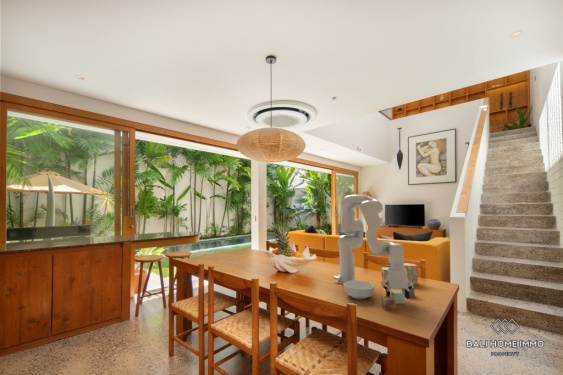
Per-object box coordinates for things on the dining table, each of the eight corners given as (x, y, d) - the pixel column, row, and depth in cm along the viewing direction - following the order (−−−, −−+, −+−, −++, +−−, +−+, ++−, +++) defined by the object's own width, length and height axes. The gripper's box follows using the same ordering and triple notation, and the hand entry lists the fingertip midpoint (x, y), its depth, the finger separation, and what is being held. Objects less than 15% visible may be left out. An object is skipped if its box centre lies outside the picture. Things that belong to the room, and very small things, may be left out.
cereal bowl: (370, 304, 140) (369, 291, 141) (339, 298, 149) (339, 286, 149) (377, 294, 155) (377, 282, 155) (349, 290, 164) (349, 278, 164)
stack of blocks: (384, 284, 175) (383, 265, 176) (381, 281, 181) (381, 262, 182) (418, 284, 173) (417, 265, 174) (414, 281, 179) (413, 263, 180)
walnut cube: (385, 310, 133) (384, 300, 133) (382, 306, 138) (381, 296, 138) (395, 310, 133) (395, 300, 133) (391, 306, 138) (391, 296, 138)
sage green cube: (394, 303, 142) (394, 293, 142) (391, 300, 147) (390, 290, 147) (404, 303, 142) (403, 293, 142) (400, 300, 147) (400, 290, 147)
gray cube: (405, 296, 151) (405, 287, 152) (402, 293, 156) (401, 285, 157) (414, 296, 151) (414, 287, 151) (410, 293, 156) (410, 285, 156)
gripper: (382, 267, 142) (383, 300, 141) (415, 267, 141) (417, 300, 140) (378, 264, 149) (379, 295, 148) (409, 264, 149) (410, 295, 148)
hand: (397, 298), depth 144 cm, fingers open, 9 cm apart
